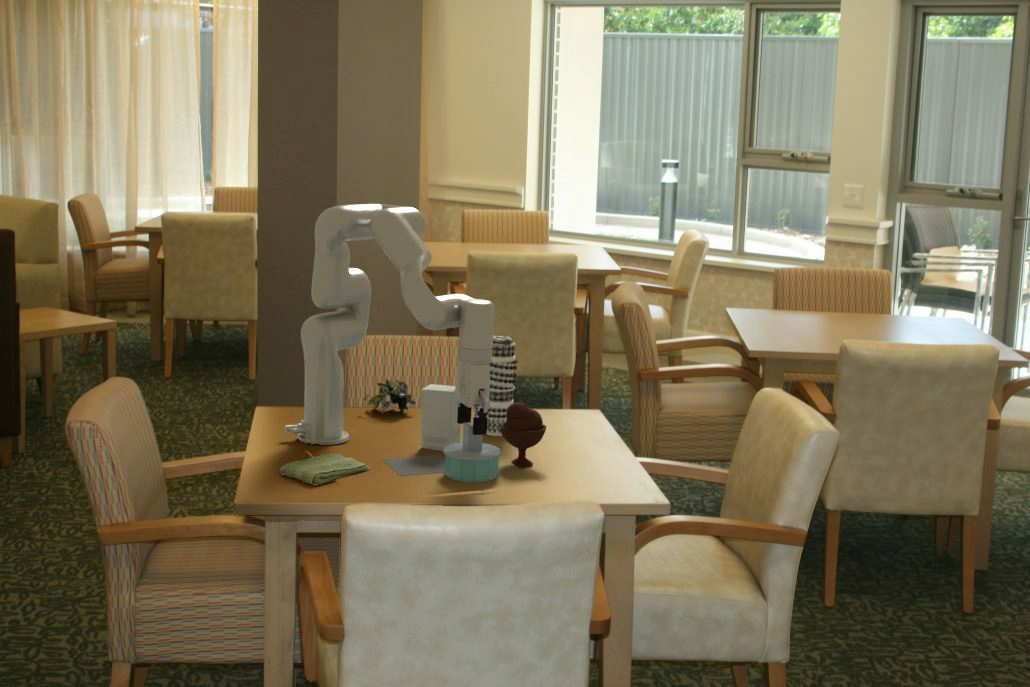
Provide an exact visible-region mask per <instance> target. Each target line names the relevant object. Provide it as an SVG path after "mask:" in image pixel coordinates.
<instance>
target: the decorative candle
mask: <svg viewBox="0 0 1030 687" xmlns="http://www.w3.org/2000/svg"><path fill="white" fill-rule="evenodd" d="M516 344H517V343H515V342H514V341H513V339H512V337H510V336H506V335H493V347H492V362H491V363H489V367H490V396H489V401H490V406H489V413H488V418H487V435H486V436H490V435H492V436H493V437H502V436H501V435H502V434H501V430H500V425H501V424H502V423H503V422H506V421H507V418H506V413H507V409H508V407H509V406H510V405H511V404H513V403H514V398H513V397H514V390H515V389H516V387H515V385H514V384H515V383H516V382H517V380H516V379H515V377H517V374H516V373H515V372H514V371H516V370H517V369H518V366H516V364H518V360H517V359H516V354H515V352H516V351H515V350H516V348H515V347H516ZM492 436H491V437H492Z"/></svg>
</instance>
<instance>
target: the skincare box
mask: <svg viewBox="0 0 1030 687" xmlns="http://www.w3.org/2000/svg"><path fill="white" fill-rule="evenodd" d="M455 388H456V385H448V384H447V385H444V384H434V383H430V384H429V385H427V386H425V387H423V388H421V389H420V399H421V400H420V401H421V402H420V405H421V406H420V410H421V411H420V416H421V418H420V419H421V421H420V423H421V424H420V426H421V427H420V430H421V433H420V434H421V436H420V439H421V441H420V442H421V444H420V445H421V449H426V450H432V451H433V450H434V451H442V452H443V450H444V447H445V446H447V445H450V444H454V443H461V424H458V423H457V414H458V404H457V403H458V400H457V399H456V398H455Z"/></svg>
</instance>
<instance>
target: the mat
mask: <svg viewBox="0 0 1030 687" xmlns="http://www.w3.org/2000/svg"><path fill="white" fill-rule="evenodd" d="M381 460H382V461H383V463H385V464H386V465H387V466H388V467H390V468H391V470H393V471H394V472H395V473H396V474H398V476H400V477H405V476H407V477H408V476H417V475H418V476H419V475H420V476H421V475H430V474H431V475H432V474H442V473H445V459H444V458H442V456H440V455H439V454H435V455H422V456H421V455H420V456H409V457H408V456H407V457H394V458H383V459H381ZM445 474H446V473H445Z"/></svg>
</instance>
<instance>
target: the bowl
mask: <svg viewBox="0 0 1030 687" xmlns="http://www.w3.org/2000/svg"><path fill="white" fill-rule="evenodd" d="M444 456H445V459H444V460H445V476H446V477H447V478H450V479H451V480H455V481H459V482H468V483H480V482H481V483H482V482H488V481H492V480H494V479H496V478H497V477H498V476H499V475H498V474H499V466H500V465H499V464H500V456H499V457H498V458H495V459H492V460H486V461H464V460H457V459H453V458H450V457H447V456H446V455H444Z"/></svg>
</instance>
